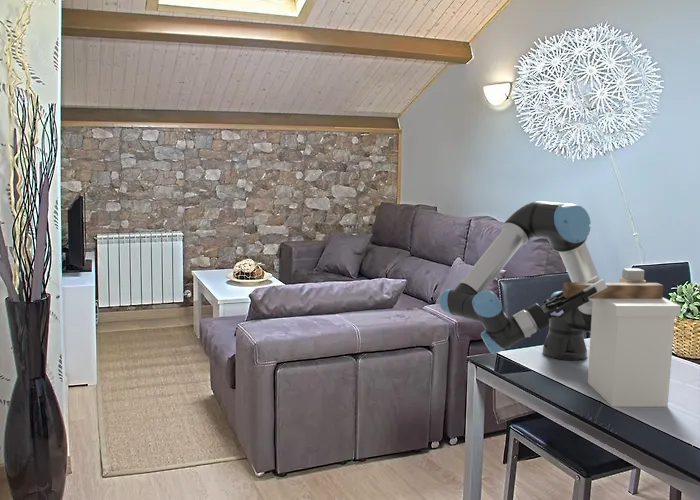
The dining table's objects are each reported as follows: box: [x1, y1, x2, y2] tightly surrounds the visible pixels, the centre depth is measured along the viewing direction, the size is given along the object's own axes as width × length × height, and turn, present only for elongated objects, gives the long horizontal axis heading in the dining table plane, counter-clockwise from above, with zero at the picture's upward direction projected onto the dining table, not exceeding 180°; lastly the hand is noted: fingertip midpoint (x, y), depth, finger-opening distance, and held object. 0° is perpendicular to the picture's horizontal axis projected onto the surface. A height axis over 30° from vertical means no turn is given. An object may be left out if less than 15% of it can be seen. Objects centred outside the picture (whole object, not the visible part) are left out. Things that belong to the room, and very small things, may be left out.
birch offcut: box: [618, 277, 647, 283], centre depth 208 cm, size 6×5×4 cm
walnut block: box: [562, 281, 664, 299], centre depth 200 cm, size 28×4×4 cm, turn 90°
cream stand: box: [587, 297, 682, 408], centre depth 203 cm, size 18×22×30 cm
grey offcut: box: [621, 267, 645, 280], centre depth 207 cm, size 5×4×3 cm
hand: (601, 281), depth 200 cm, fingers open, 4 cm apart
